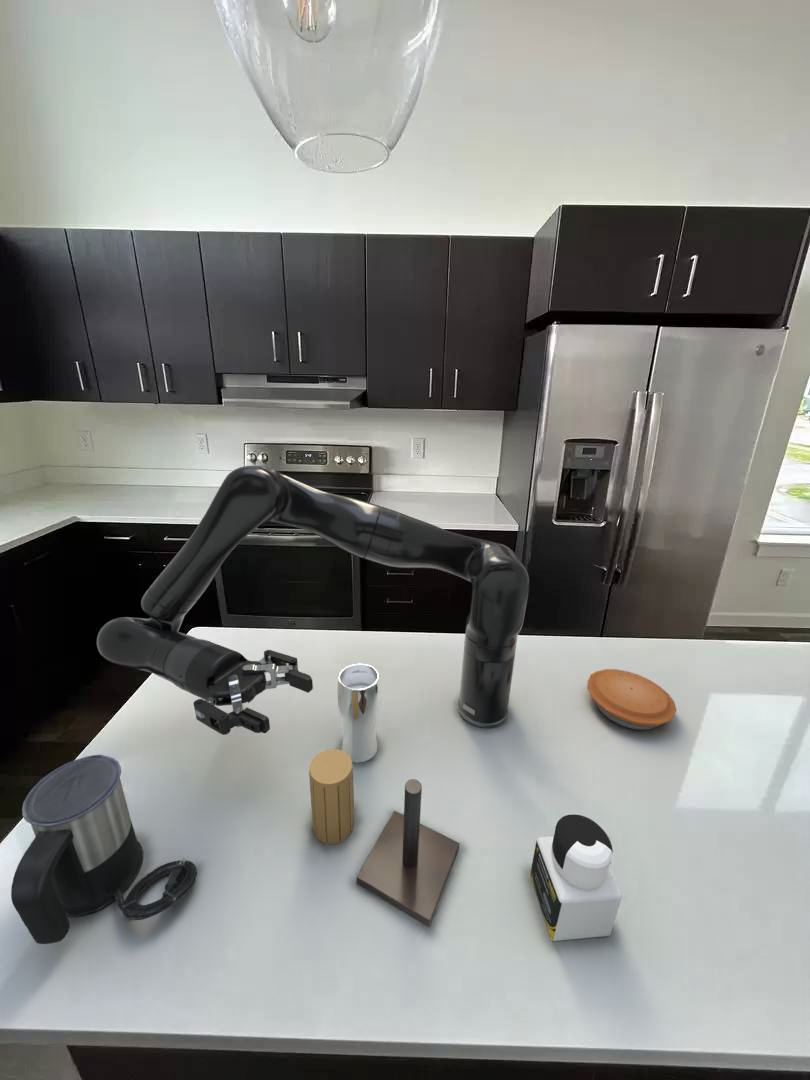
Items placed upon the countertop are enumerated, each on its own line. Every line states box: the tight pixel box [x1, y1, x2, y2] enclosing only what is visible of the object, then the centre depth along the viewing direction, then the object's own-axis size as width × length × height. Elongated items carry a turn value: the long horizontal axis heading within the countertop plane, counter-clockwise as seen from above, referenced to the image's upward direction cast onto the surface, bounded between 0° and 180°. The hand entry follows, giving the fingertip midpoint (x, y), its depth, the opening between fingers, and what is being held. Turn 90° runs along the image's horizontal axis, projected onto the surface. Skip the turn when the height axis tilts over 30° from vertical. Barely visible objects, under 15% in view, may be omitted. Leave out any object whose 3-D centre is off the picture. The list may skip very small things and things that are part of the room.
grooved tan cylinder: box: [308, 748, 355, 845], centre depth 59 cm, size 6×6×11 cm
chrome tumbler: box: [336, 663, 381, 764], centre depth 70 cm, size 7×7×15 cm
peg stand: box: [356, 778, 460, 928], centre depth 53 cm, size 10×10×14 cm
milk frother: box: [10, 754, 198, 945], centre depth 50 cm, size 14×16×15 cm
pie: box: [586, 668, 677, 731], centre depth 83 cm, size 16×16×5 cm
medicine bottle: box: [529, 813, 623, 942], centre depth 50 cm, size 7×7×12 cm
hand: (290, 704), depth 57 cm, fingers open, 8 cm apart
